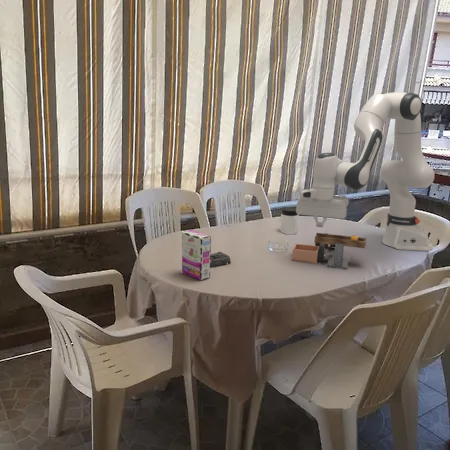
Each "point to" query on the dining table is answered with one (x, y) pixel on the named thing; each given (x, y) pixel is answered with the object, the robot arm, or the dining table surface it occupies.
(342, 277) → the dining table surface
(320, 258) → the stand
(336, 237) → the brown wooden tray
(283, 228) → the jar
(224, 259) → the tank toy
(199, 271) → the candy bar box
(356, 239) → the ball
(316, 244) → the pottery mug
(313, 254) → the pink open box
